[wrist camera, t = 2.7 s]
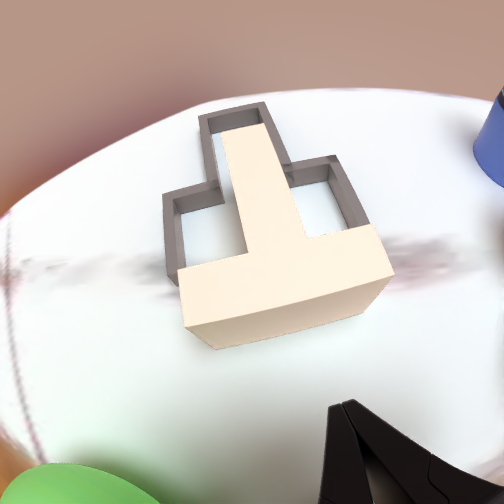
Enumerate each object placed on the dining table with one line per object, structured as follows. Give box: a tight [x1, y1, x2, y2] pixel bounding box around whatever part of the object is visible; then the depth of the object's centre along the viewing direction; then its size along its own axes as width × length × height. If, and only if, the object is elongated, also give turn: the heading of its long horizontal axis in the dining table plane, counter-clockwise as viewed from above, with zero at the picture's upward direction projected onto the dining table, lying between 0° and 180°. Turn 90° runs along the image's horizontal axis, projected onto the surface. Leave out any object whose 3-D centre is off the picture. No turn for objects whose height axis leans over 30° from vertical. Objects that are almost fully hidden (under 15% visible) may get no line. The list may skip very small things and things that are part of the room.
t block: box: [177, 123, 395, 350], centre depth 22 cm, size 14×12×8 cm
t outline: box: [162, 102, 370, 286], centre depth 29 cm, size 20×17×2 cm
